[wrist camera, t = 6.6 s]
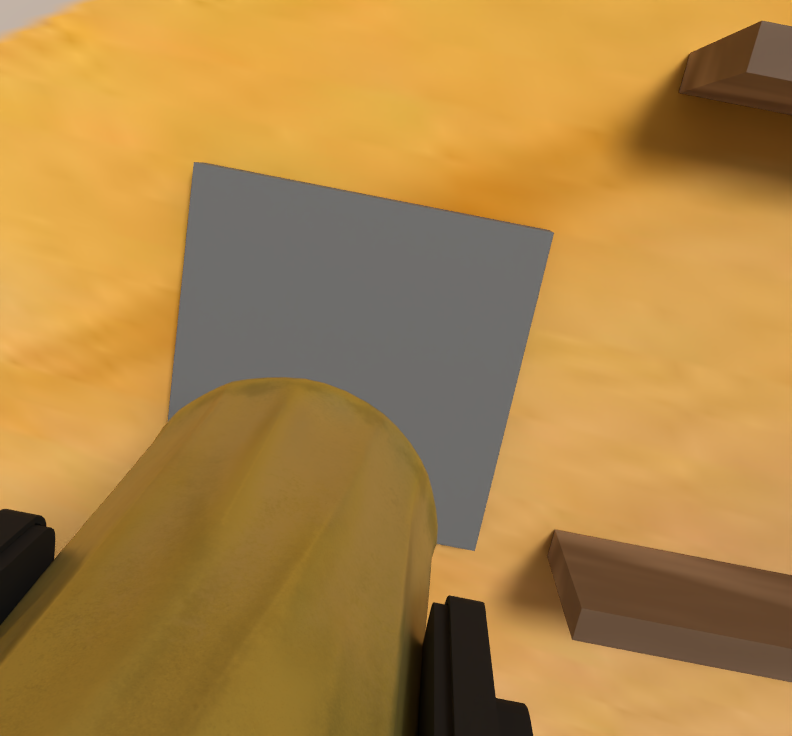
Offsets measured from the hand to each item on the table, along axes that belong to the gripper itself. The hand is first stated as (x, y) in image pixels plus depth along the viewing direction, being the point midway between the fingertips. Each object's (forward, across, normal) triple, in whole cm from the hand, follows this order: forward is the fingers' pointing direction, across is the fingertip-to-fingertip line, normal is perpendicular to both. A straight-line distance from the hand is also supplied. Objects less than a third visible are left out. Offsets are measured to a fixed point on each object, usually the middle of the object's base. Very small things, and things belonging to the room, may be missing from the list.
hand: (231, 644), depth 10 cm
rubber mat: (+16, 0, 0) cm, 16 cm away
